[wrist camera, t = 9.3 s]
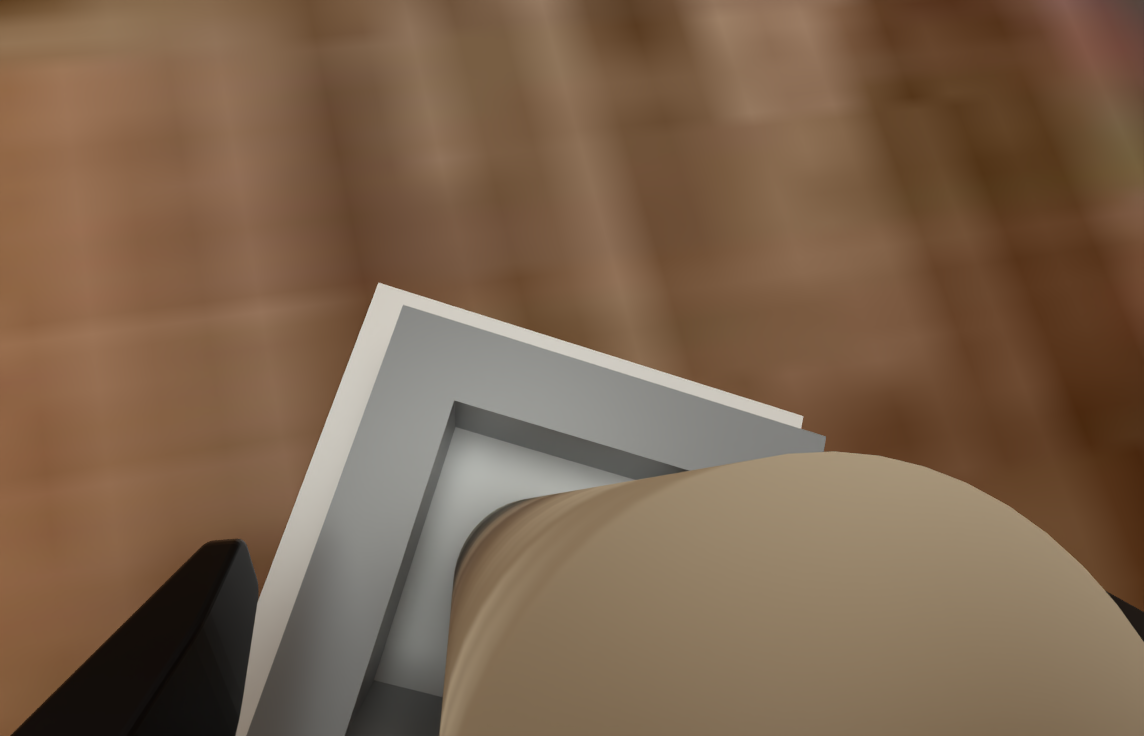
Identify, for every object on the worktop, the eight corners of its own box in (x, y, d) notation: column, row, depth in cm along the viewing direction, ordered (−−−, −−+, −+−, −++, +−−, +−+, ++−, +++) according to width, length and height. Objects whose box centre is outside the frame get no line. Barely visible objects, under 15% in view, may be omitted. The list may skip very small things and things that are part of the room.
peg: (593, 689, 15) (1246, 1558, 3) (430, 647, 15) (261, 1439, 2) (633, 522, 16) (1239, 565, 4) (482, 478, 16) (570, 356, 3)
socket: (699, 889, 15) (808, 1060, 11) (202, 777, 14) (70, 914, 9) (785, 421, 18) (899, 390, 14) (383, 295, 17) (353, 212, 12)
